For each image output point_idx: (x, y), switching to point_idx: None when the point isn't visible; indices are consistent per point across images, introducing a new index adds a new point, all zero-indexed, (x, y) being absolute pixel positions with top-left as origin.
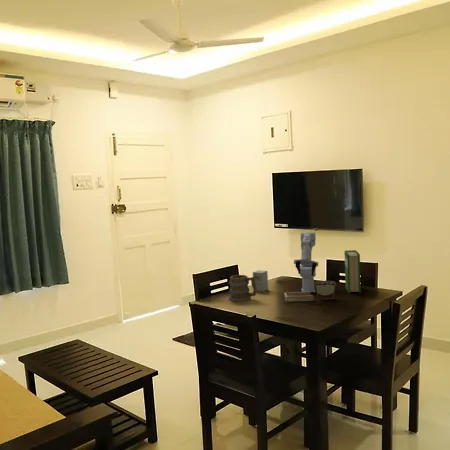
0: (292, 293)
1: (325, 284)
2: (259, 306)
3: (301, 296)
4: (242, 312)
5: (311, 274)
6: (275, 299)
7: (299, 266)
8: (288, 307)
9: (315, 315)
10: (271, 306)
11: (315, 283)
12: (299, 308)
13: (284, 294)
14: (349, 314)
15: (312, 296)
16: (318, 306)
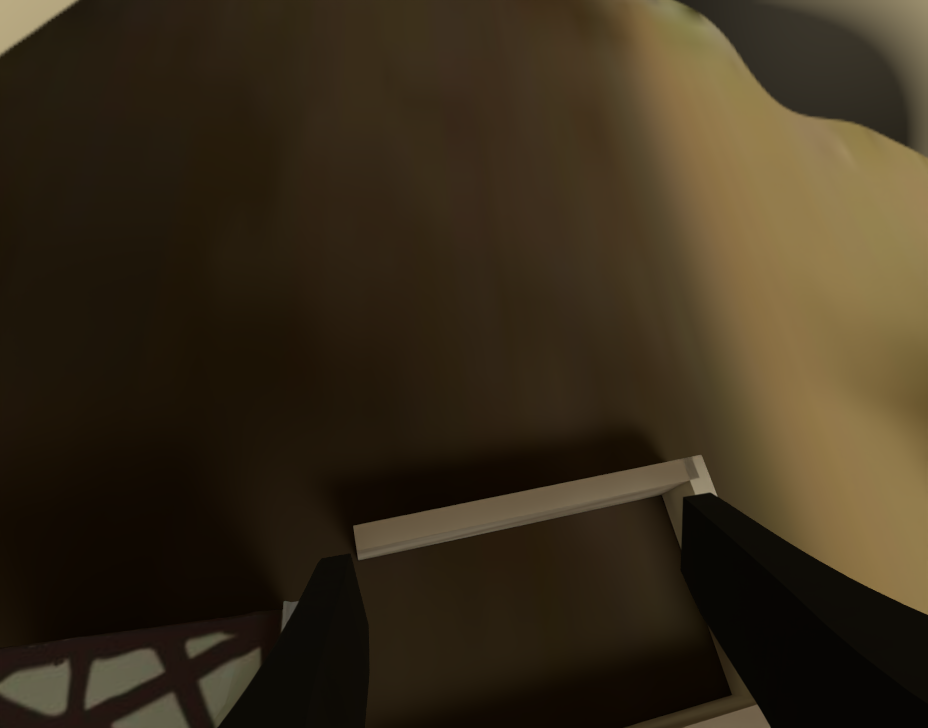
0: (677, 725)
1: (79, 636)
2: (870, 305)
3: (515, 494)
4: (912, 152)
5: (368, 669)
6: None
7: (830, 601)
8: (600, 264)
9: (345, 49)
10: (765, 301)
11: None
12: (493, 229)
13: None
14: (47, 48)
15: (365, 526)
16: (305, 287)
